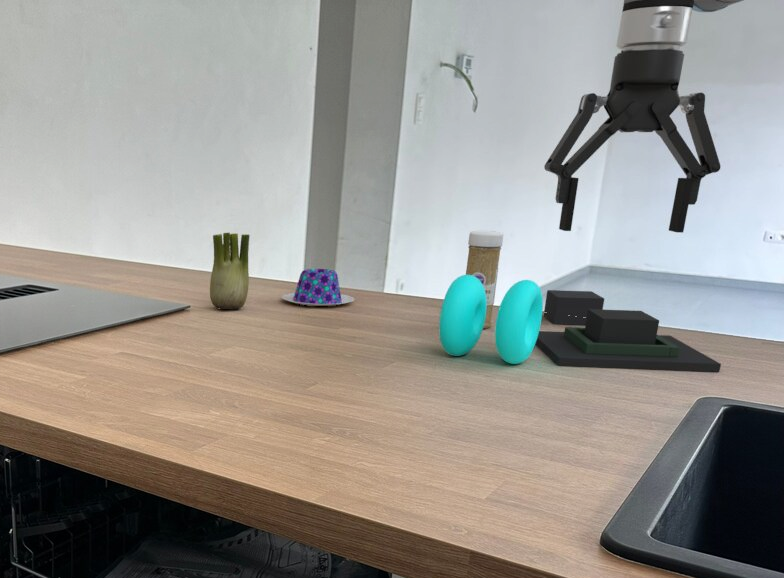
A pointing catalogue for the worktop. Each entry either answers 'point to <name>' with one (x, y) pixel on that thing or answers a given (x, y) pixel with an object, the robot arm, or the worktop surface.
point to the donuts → (512, 325)
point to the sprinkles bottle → (485, 264)
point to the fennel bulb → (229, 271)
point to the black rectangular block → (621, 327)
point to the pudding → (318, 289)
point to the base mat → (622, 353)
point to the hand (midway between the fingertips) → (619, 231)
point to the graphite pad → (570, 306)
